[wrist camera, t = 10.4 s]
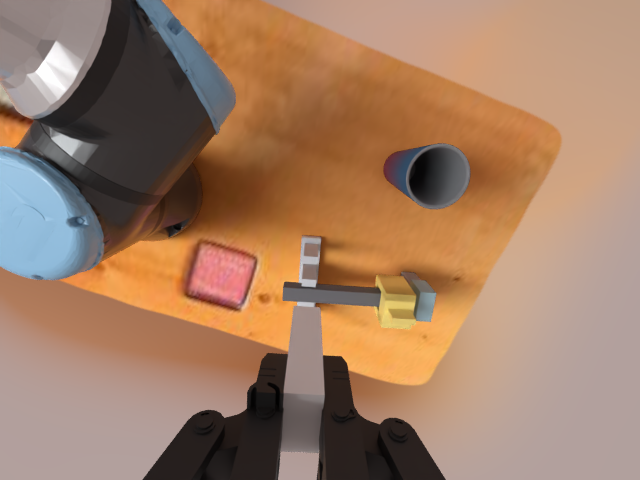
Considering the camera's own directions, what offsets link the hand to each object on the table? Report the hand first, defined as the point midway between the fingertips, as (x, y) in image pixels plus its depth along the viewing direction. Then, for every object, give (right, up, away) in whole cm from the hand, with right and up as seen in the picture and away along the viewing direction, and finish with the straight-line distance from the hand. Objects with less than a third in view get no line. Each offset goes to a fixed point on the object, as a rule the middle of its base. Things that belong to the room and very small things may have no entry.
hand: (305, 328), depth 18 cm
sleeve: (+11, -3, +30) cm, 32 cm away
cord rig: (+6, -1, +34) cm, 35 cm away
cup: (+13, +16, +30) cm, 36 cm away
